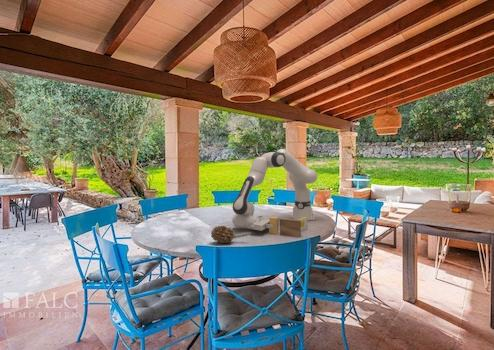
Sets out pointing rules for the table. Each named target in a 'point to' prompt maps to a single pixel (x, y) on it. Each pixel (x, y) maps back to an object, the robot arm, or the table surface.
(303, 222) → the candy box
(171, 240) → the table surface
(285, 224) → the walnut board
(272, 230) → the ochre stub
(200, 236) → the table surface
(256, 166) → the robot arm
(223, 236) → the pine cone
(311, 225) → the table surface
